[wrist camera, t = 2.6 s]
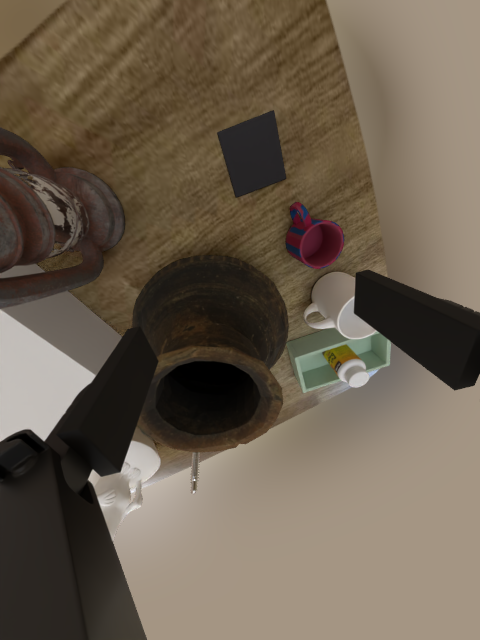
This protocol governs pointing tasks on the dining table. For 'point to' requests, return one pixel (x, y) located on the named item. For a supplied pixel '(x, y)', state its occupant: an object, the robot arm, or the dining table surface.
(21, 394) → the box
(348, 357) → the supplement bottle
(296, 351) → the bin
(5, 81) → the dining table surface
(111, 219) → the lantern
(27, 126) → the dining table surface
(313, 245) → the cup
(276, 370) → the dining table surface
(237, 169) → the coaster
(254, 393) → the ceramic pot
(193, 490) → the screw
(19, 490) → the robot arm
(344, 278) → the mug
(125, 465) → the white sculpted figure
